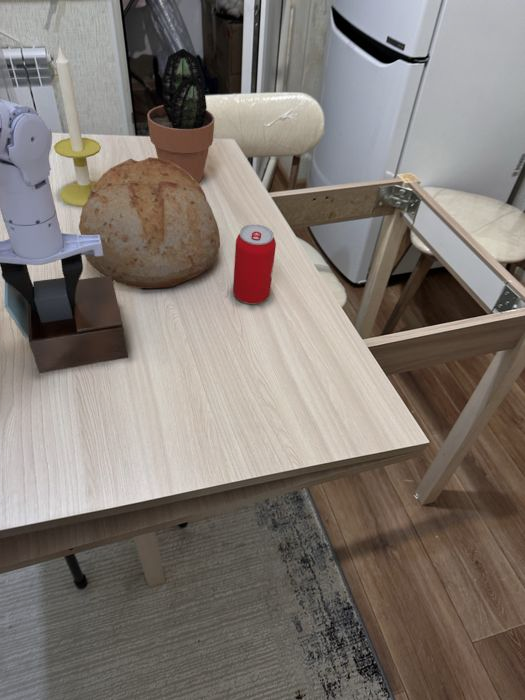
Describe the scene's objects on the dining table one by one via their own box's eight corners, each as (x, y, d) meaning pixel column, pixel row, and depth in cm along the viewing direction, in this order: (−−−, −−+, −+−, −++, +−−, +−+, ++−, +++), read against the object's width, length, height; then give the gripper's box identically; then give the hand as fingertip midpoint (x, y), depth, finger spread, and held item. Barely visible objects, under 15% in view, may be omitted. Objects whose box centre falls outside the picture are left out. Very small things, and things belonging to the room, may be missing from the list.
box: (39, 373, 66) (27, 338, 61) (36, 321, 73) (25, 285, 68) (127, 357, 69) (122, 323, 65) (117, 309, 76) (111, 274, 72)
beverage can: (270, 286, 84) (278, 225, 76) (267, 309, 80) (275, 247, 71) (235, 281, 84) (239, 220, 76) (229, 304, 80) (233, 241, 71)
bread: (84, 213, 94) (70, 136, 84) (203, 208, 100) (204, 135, 89) (84, 300, 77) (66, 216, 66) (228, 288, 83) (233, 209, 72)
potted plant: (138, 178, 106) (126, 49, 89) (176, 157, 115) (172, 36, 97) (189, 198, 102) (188, 67, 85) (224, 175, 111) (229, 51, 93)
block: (41, 323, 64) (34, 300, 62) (40, 304, 67) (33, 281, 64) (73, 318, 66) (67, 295, 63) (70, 299, 68) (65, 277, 65)
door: (28, 338, 61) (25, 339, 61) (26, 286, 68) (23, 287, 68) (7, 305, 57) (4, 306, 57) (7, 253, 64) (4, 254, 64)
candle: (85, 212, 95) (57, 57, 76) (49, 195, 98) (13, 42, 79) (121, 193, 101) (103, 46, 82) (86, 177, 104) (61, 32, 85)
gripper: (91, 190, 60) (106, 278, 70) (-40, 200, 56) (-5, 292, 66) (98, 220, 56) (112, 309, 65) (-44, 233, 51) (-6, 327, 61)
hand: (54, 303), depth 65 cm, fingers closed on block, 4 cm apart
